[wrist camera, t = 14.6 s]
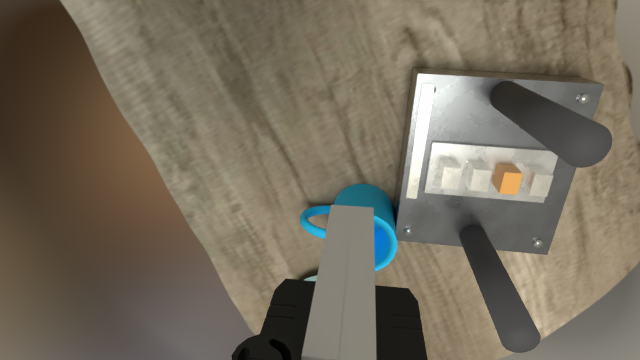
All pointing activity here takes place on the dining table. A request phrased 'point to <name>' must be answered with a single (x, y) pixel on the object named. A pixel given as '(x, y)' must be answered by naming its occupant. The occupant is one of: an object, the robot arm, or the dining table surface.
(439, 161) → the breaker panel
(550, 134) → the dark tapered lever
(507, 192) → the orange cube
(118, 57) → the dining table surface
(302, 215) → the mug
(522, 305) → the dark grey upright post
